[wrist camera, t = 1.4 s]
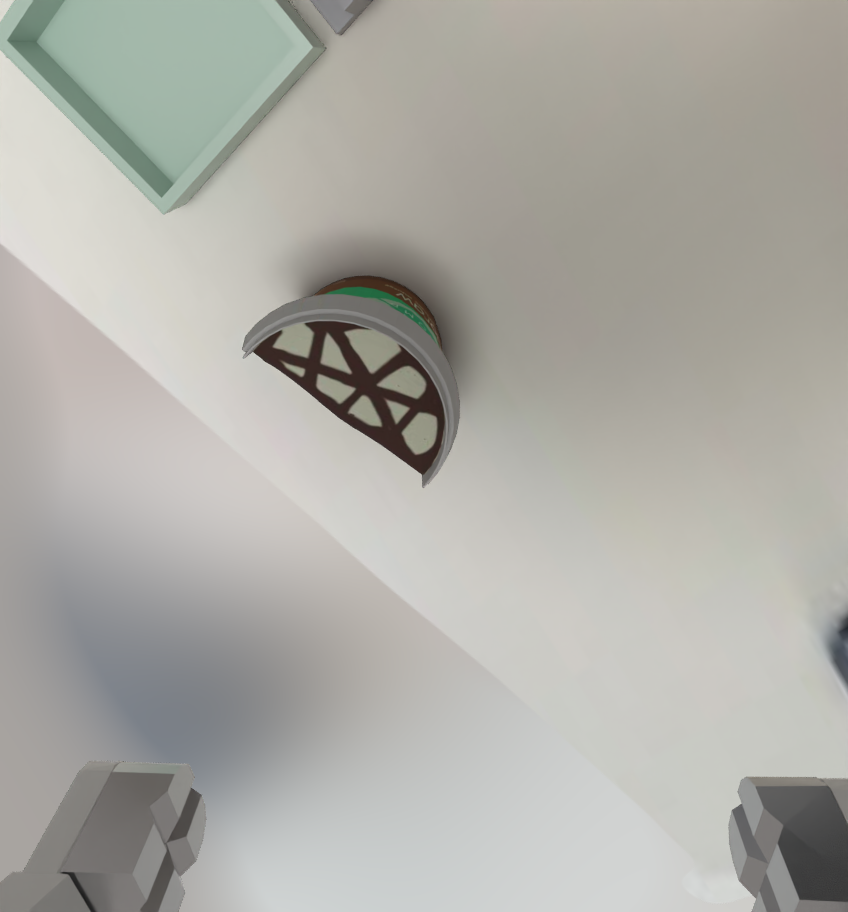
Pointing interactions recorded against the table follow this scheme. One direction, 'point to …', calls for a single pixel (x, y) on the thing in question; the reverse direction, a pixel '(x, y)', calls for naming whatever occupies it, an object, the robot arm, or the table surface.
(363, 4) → the holder
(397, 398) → the food container
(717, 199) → the table surface
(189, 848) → the robot arm
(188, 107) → the tray
